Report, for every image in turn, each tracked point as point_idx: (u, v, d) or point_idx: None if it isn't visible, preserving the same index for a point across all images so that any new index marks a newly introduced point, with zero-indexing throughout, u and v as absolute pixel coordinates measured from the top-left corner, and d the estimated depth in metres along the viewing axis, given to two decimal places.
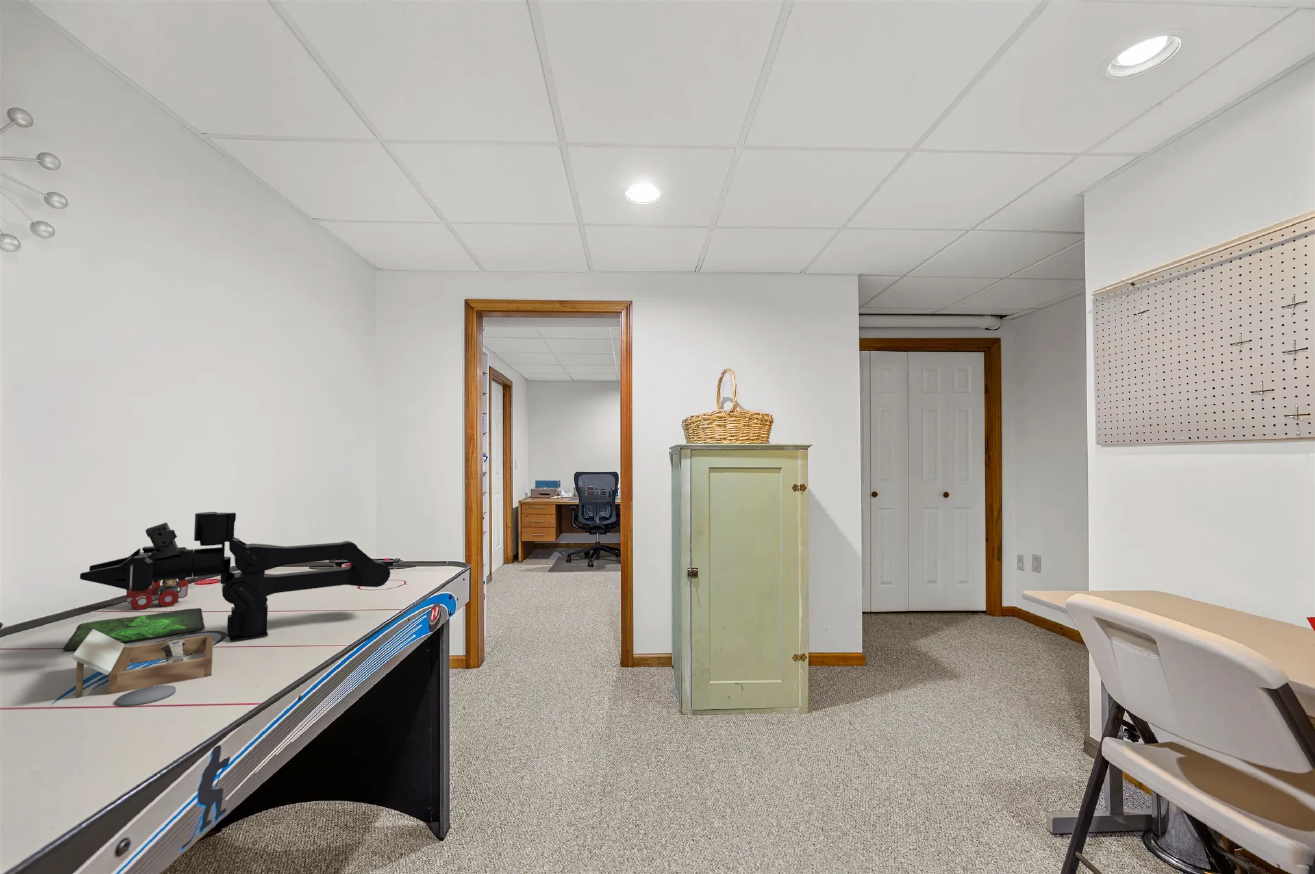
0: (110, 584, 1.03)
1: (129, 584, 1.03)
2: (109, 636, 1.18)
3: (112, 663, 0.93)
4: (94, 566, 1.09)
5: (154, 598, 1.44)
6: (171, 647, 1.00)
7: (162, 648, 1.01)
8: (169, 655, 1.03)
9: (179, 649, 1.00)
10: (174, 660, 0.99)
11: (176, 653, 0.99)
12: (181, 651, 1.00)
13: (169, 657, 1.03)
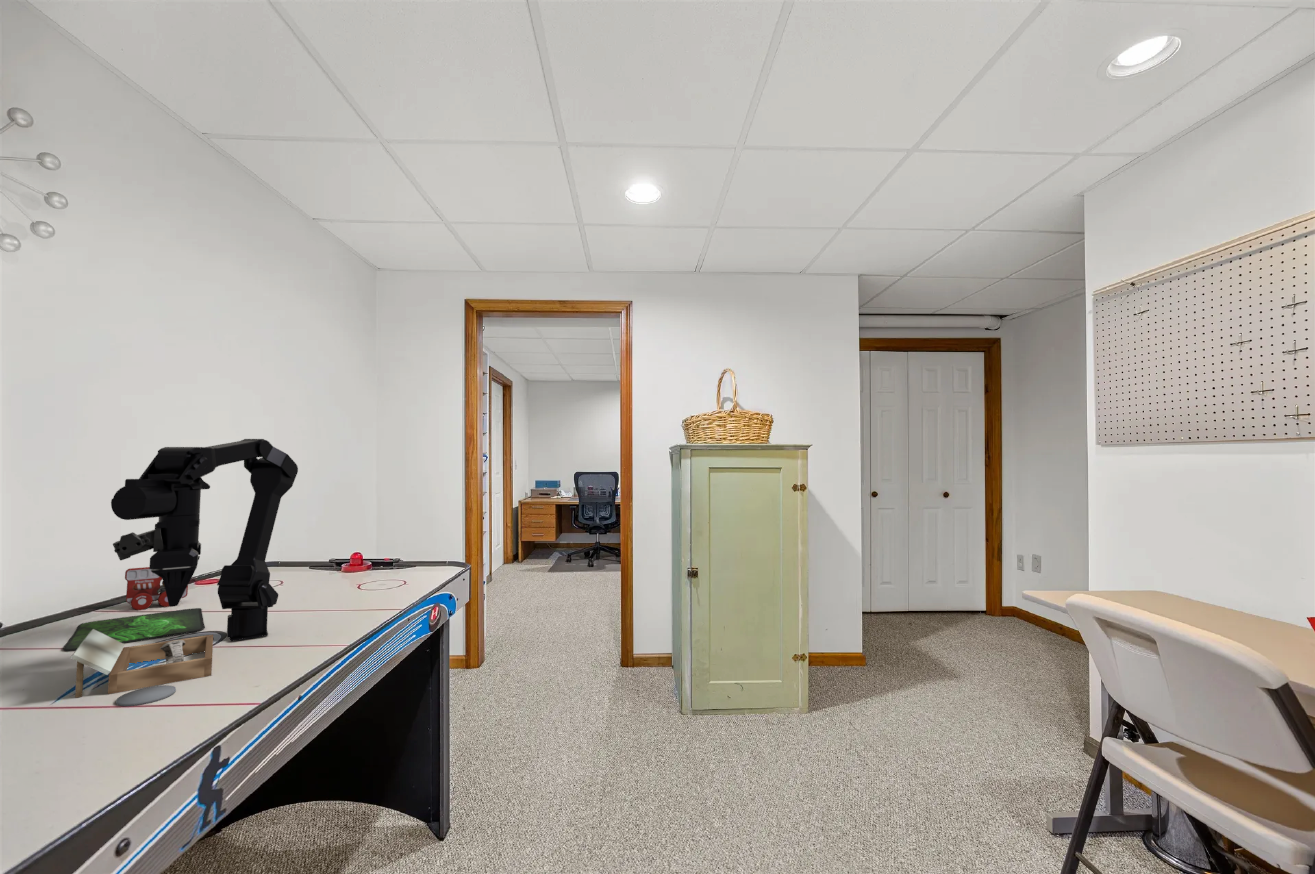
0: (187, 582, 0.98)
1: (187, 568, 0.97)
2: (109, 636, 1.18)
3: (112, 663, 0.93)
4: None
5: (154, 598, 1.44)
6: (171, 647, 1.00)
7: (162, 648, 1.01)
8: (169, 655, 1.03)
9: (179, 649, 1.00)
10: (174, 660, 0.99)
11: (176, 654, 0.99)
12: (181, 651, 1.00)
13: (169, 657, 1.03)
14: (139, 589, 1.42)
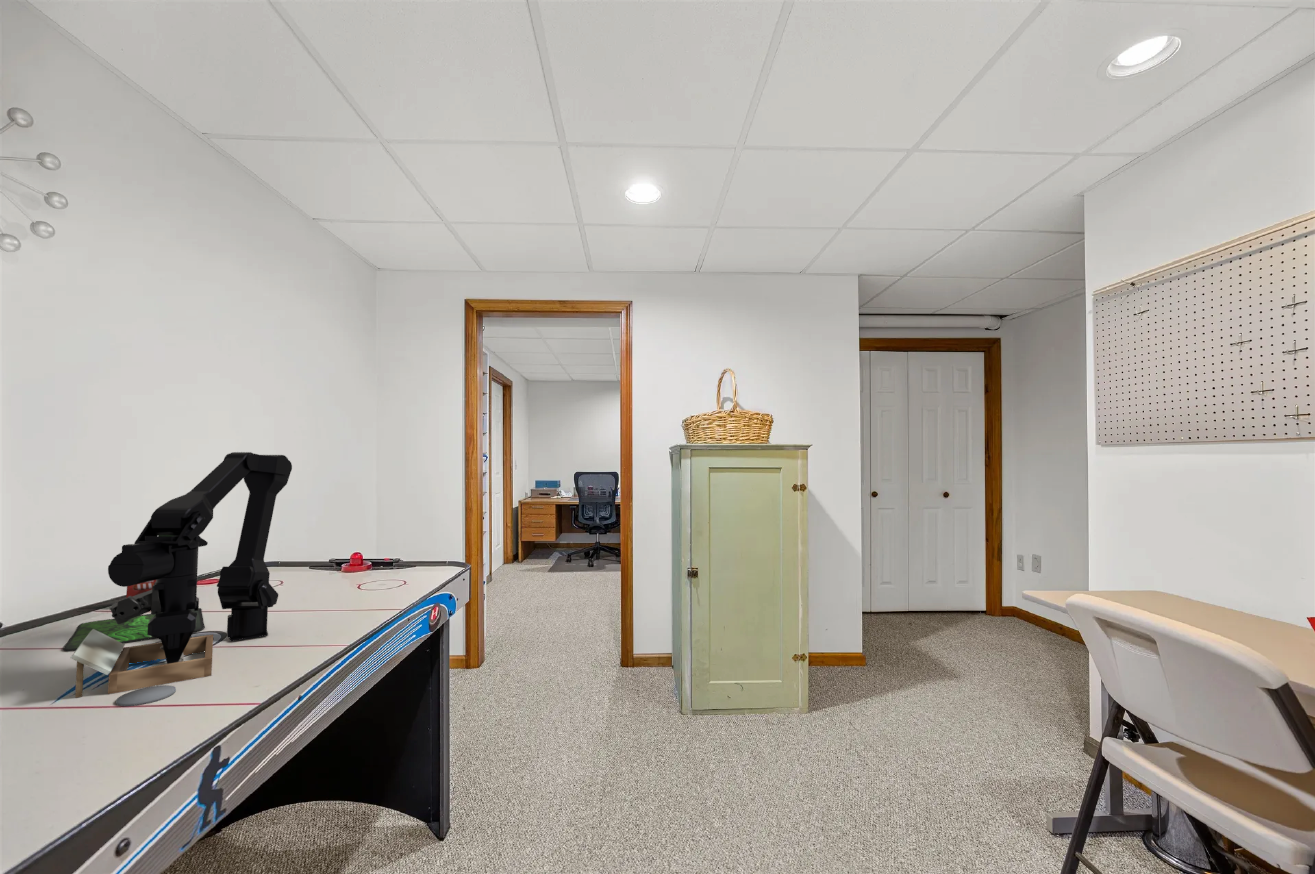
0: (186, 642, 0.99)
1: None
2: (109, 636, 1.18)
3: (112, 663, 0.93)
4: None
5: None
6: None
7: (162, 648, 1.01)
8: None
9: None
10: None
11: None
12: None
13: None
14: (139, 589, 1.42)
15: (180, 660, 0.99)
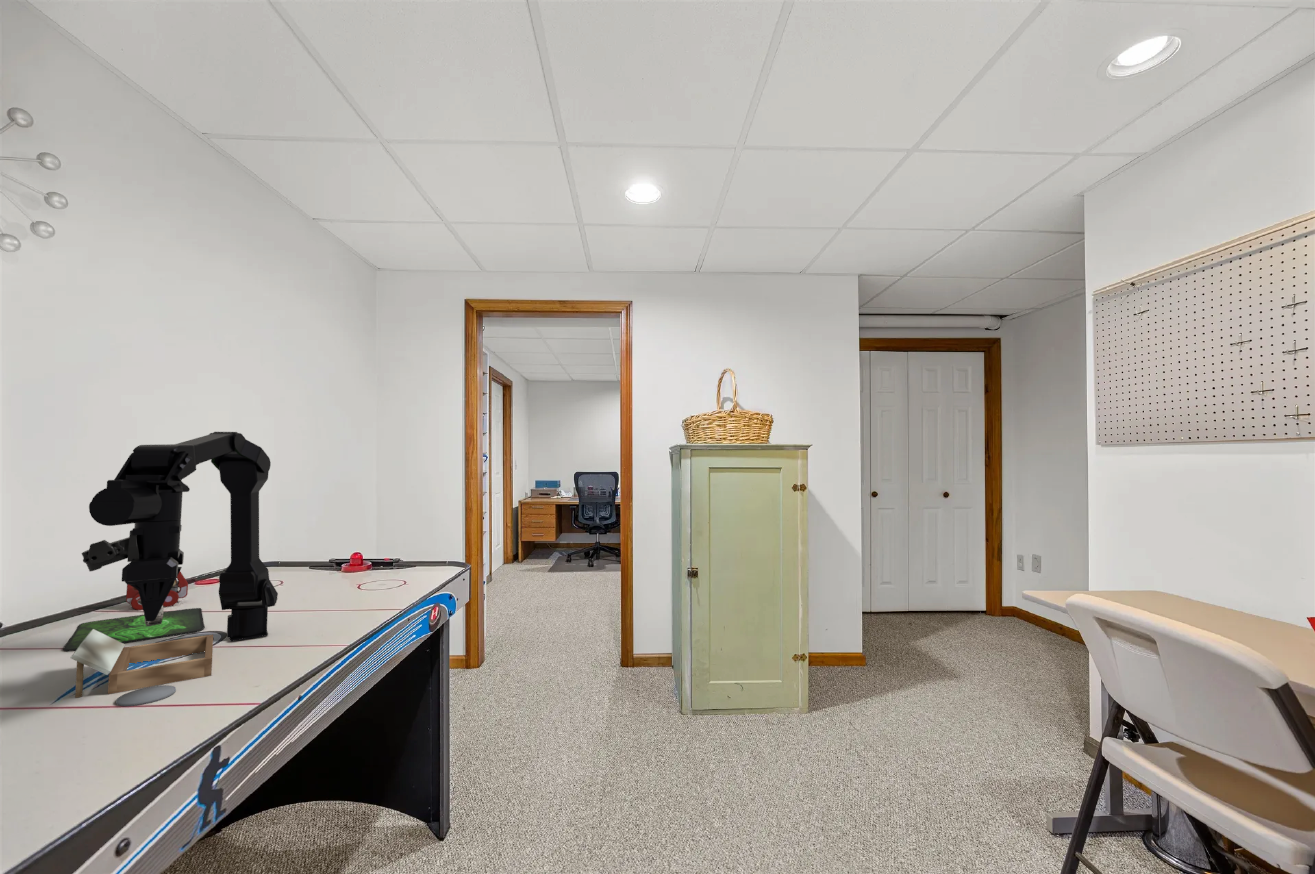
0: (166, 594, 0.89)
1: (166, 578, 0.87)
2: (109, 636, 1.18)
3: (112, 663, 0.93)
4: None
5: None
6: None
7: (140, 601, 0.91)
8: None
9: None
10: None
11: None
12: None
13: None
14: None
15: (159, 614, 0.89)
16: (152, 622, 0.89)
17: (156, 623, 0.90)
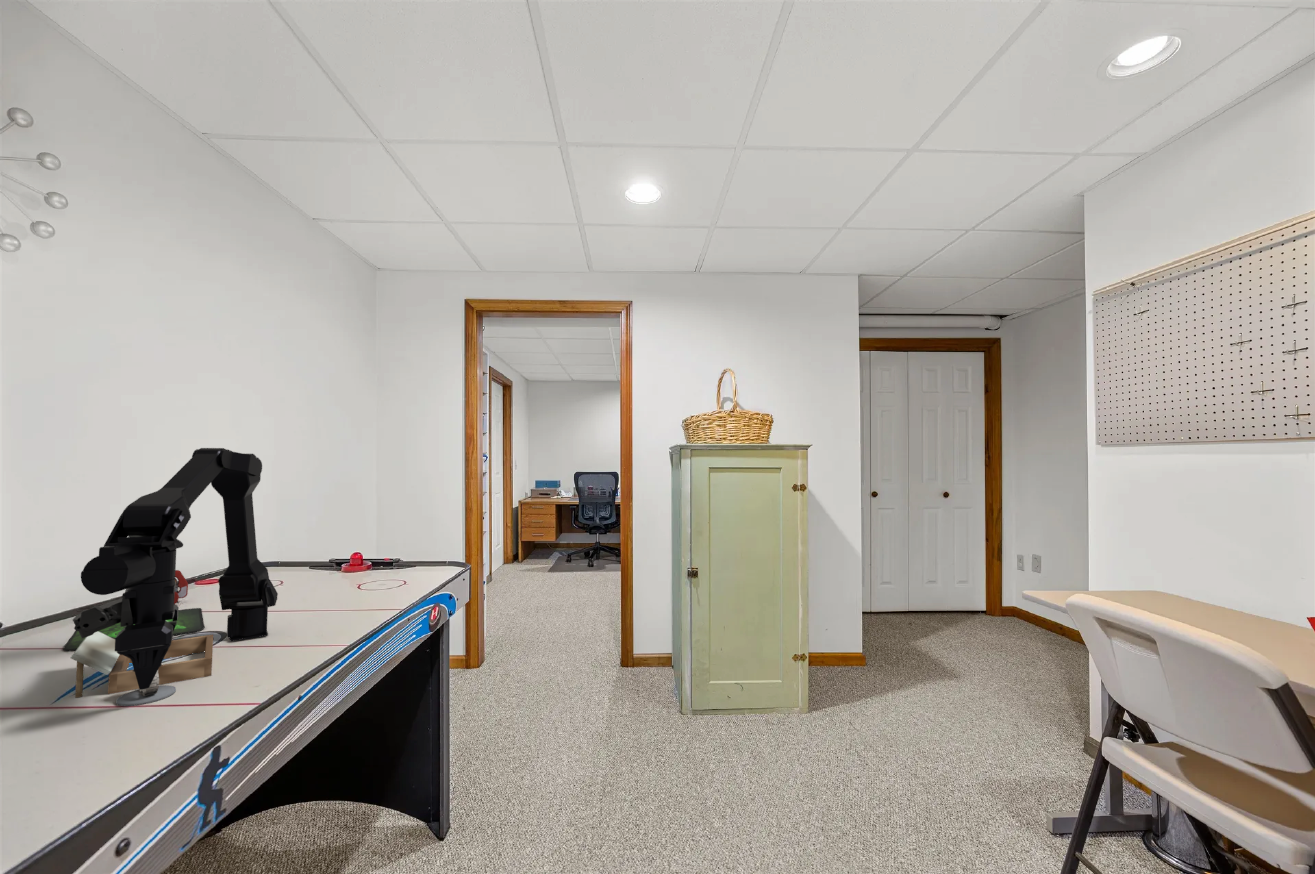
0: (160, 660, 0.85)
1: (160, 646, 0.84)
2: (109, 636, 1.18)
3: (112, 663, 0.93)
4: None
5: None
6: None
7: None
8: None
9: None
10: None
11: None
12: (156, 674, 0.88)
13: None
14: None
15: (155, 685, 0.87)
16: (147, 693, 0.87)
17: (151, 693, 0.88)
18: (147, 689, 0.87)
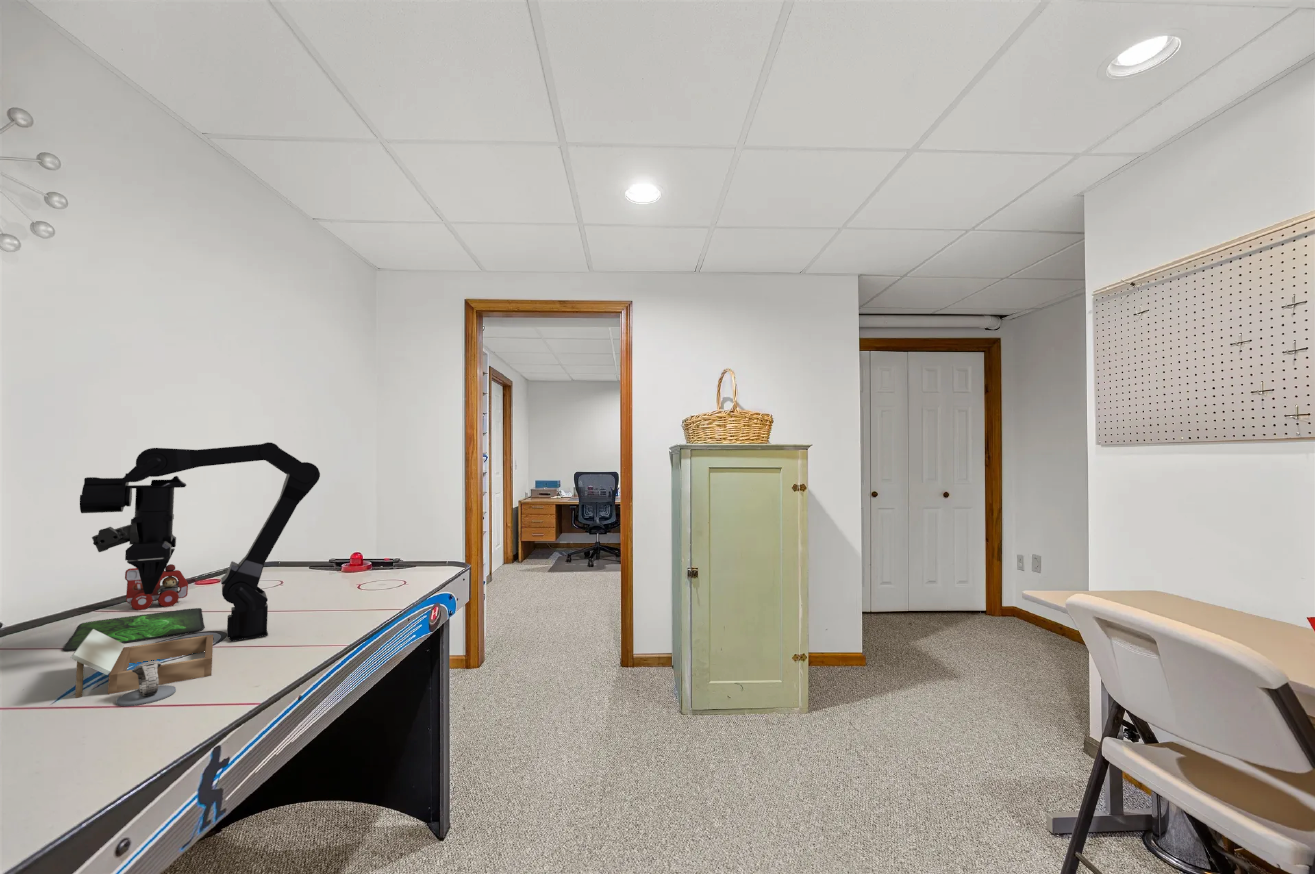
0: (161, 572, 1.07)
1: (161, 559, 1.06)
2: (109, 636, 1.18)
3: (112, 663, 0.93)
4: None
5: (154, 598, 1.44)
6: (144, 670, 0.88)
7: (134, 671, 0.88)
8: (143, 678, 0.90)
9: (154, 672, 0.88)
10: (147, 685, 0.87)
11: (149, 677, 0.87)
12: (156, 674, 0.88)
13: (143, 680, 0.90)
14: (139, 589, 1.42)
15: (154, 685, 0.87)
16: (147, 693, 0.87)
17: (151, 693, 0.88)
18: (147, 689, 0.87)
